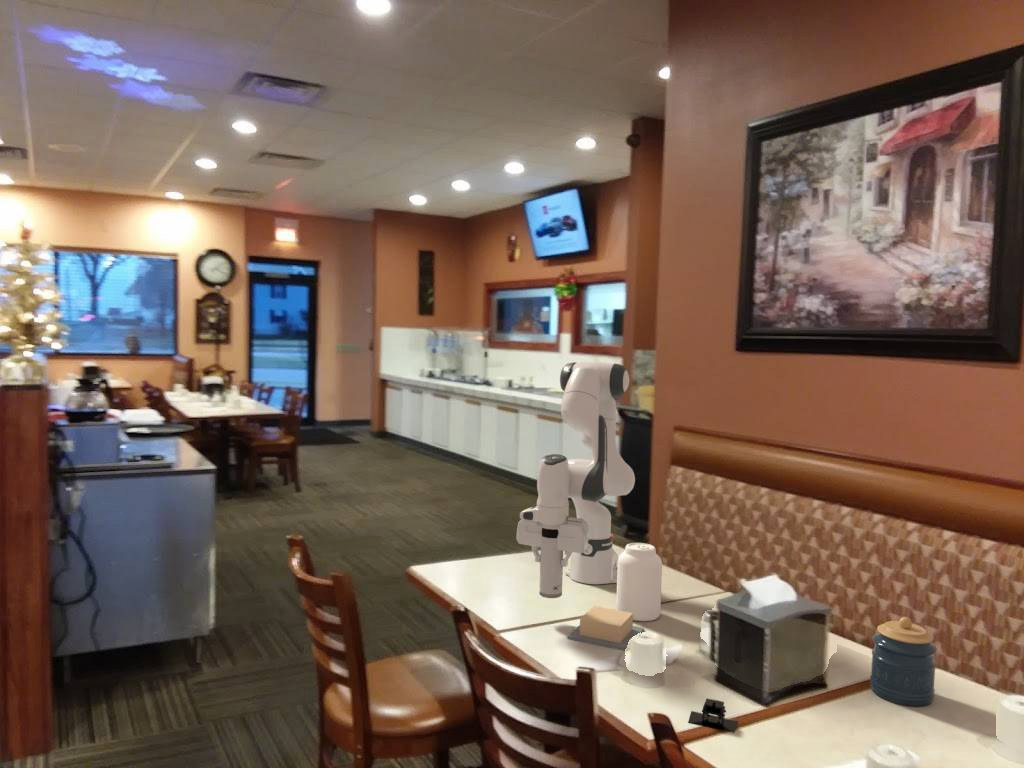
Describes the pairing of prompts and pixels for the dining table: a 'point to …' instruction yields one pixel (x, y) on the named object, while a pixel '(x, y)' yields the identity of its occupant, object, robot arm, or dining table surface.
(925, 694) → the canister
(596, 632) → the tan block on plate
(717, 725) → the build plate
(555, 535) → the travel mug
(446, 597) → the dining table surface
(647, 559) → the white jar
